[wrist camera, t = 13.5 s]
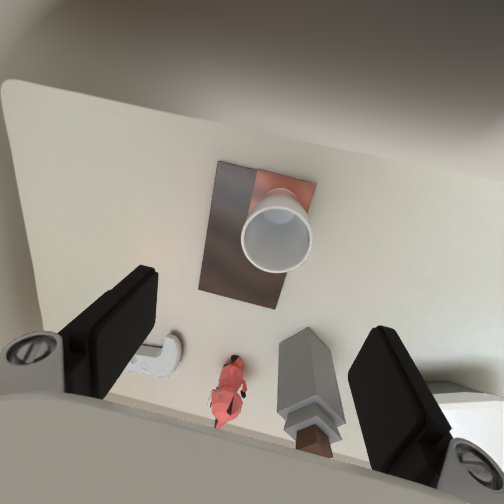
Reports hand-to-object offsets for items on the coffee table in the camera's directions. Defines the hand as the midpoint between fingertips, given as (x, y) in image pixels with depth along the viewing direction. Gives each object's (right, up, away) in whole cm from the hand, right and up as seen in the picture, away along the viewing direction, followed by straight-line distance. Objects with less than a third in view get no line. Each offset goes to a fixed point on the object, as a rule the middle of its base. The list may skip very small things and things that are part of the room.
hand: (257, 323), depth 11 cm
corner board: (0, +5, +30) cm, 30 cm away
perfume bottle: (+10, -15, +37) cm, 41 cm away
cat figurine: (-3, -20, +41) cm, 46 cm away
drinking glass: (+4, +10, +26) cm, 28 cm away
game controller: (-21, -16, +42) cm, 50 cm away
